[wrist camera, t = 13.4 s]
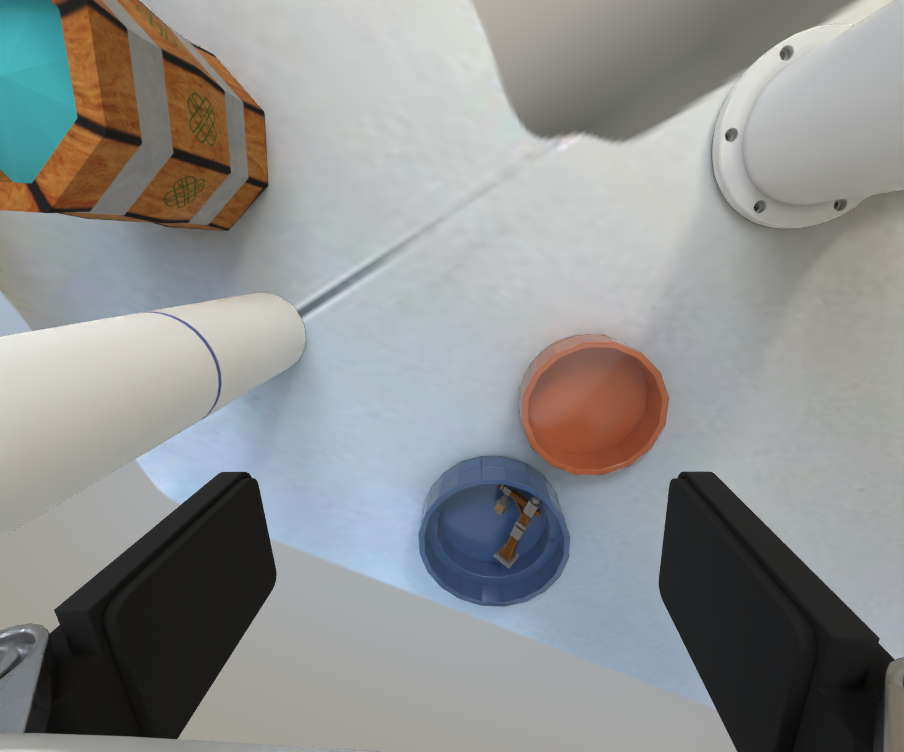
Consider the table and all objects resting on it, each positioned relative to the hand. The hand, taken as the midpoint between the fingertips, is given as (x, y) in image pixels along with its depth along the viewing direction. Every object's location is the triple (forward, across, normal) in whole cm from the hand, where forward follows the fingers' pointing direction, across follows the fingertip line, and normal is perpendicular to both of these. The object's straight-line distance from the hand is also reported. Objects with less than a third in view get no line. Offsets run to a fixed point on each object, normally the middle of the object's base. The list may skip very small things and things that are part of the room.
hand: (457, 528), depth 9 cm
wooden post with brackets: (+26, -1, +19) cm, 32 cm away
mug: (+27, +23, -18) cm, 40 cm away
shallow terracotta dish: (+27, -9, +7) cm, 30 cm away
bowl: (+27, -1, +19) cm, 33 cm away
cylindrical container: (+27, +19, 0) cm, 33 cm away
